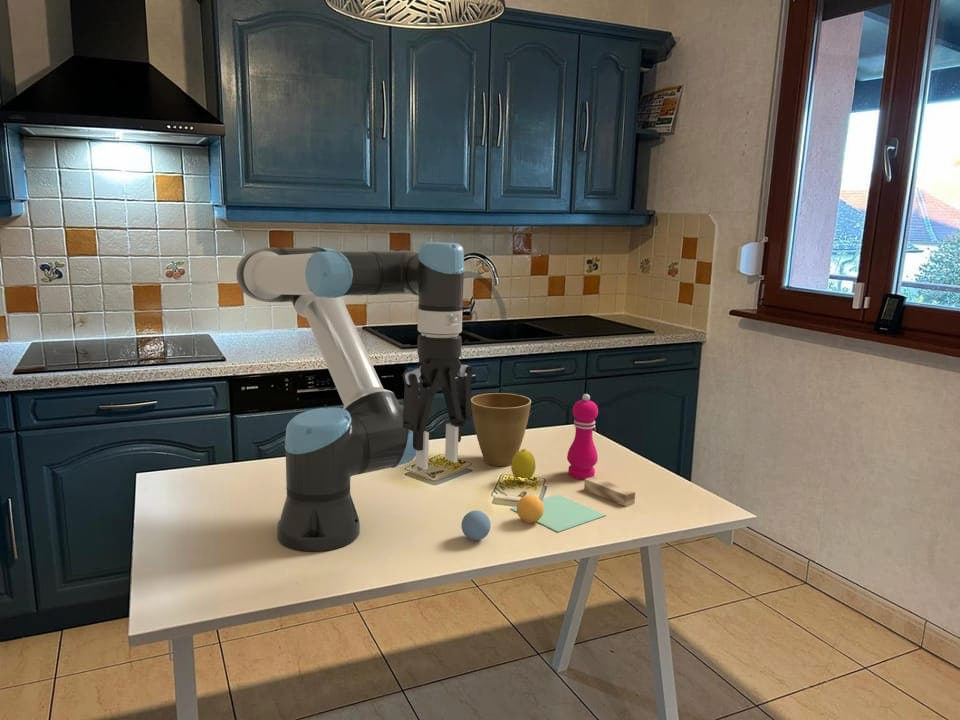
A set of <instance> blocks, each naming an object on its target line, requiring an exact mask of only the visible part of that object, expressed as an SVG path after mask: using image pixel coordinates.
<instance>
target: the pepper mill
mask: <svg viewBox="0 0 960 720" xmlns="http://www.w3.org/2000/svg"><path fill="white" fill-rule="evenodd" d="M572 415H573V417H574V420H573V427H574V429H575V434H574V439H573V441H572V442H571V445H570V446H569V448H568V452H567V455H566V457H567V458H566V460H567V461H568V464H569V466H568V471H567V474H568V476H569V477H570V478H573V479H577V480H585V479H587V478H590V477H593V476H594V477H595V474H596V473H595V472H596V469H595V467H594V466H595V465H596V464H597V463H598V452H597V448H596V446H595V443H594V440H593V431H594V429H595V428H596V425H595V424H596V421H595V419H596V418H597V417H598V416H599V408H598V405H597V404H596V403H595V402H594V401H592V400H591V396H590V395H589V394H588V393H584V394H583V395H582V399H581V400H578V401H577V402H575V403H574V405H573V407H572Z"/></svg>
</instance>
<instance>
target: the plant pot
mask: <svg viewBox="0 0 960 720" xmlns="http://www.w3.org/2000/svg"><path fill="white" fill-rule="evenodd" d="M531 405H532V400H531V398H529V397H527V396H524V395H520V394H516V393H506V392H505V393H504V392H501V393H500V392H496V393H495V392H494V393H492V392H491V393H483V394H477V395H474V396H472V397H471V415H472V421H473V427H474V430H475V434H476V439H477V441H478V445H479V449H480V451H481V454H482V458H483V460H484V463H485V464H487V465H490V466H495V467H507V466H511V463H512V459H513V456H514V455H515V453H517V452H518V451H520V449H521V445H522V443H523V440H524V437H525V433H526V429H527V425H528V421H529V416H530V411H531Z"/></svg>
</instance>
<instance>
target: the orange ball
mask: <svg viewBox="0 0 960 720" xmlns="http://www.w3.org/2000/svg"><path fill="white" fill-rule="evenodd" d="M540 499H541V498H540V497H538V496H537V495H533V494H526V495H524V496H522V497H520V499H519V500H518V501H517V505H516V506H517V512H516V513H517V516H518V517H519V519H520V520H522V521H523V522H525V523H528V524H529V523H530V524H533V523H537V522H536V521H538V520H539V519H540V518H541V517H542V515H543V512H544V505H543V503H542V501H541V500H540Z"/></svg>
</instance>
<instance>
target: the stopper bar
mask: <svg viewBox="0 0 960 720" xmlns="http://www.w3.org/2000/svg"><path fill="white" fill-rule="evenodd" d="M583 487H584V488H583V489H584V491H587V492H590V493H591V494H595V496H596V495H597V496H599V497H602V498H604V499H606V500H609V501H612V502H614V503H616V504H619V505H622V506H623V507H628V506H631V505H635V499H636V492H635V491H632V490H630V489H627V488H624V487H622V486H619V485H617V484H614V483H612V482H610V481H607V480H604V479H602V478H599V477H596V476H595V475H594V476H593V477H590V478H587V479H584V485H583Z"/></svg>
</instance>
